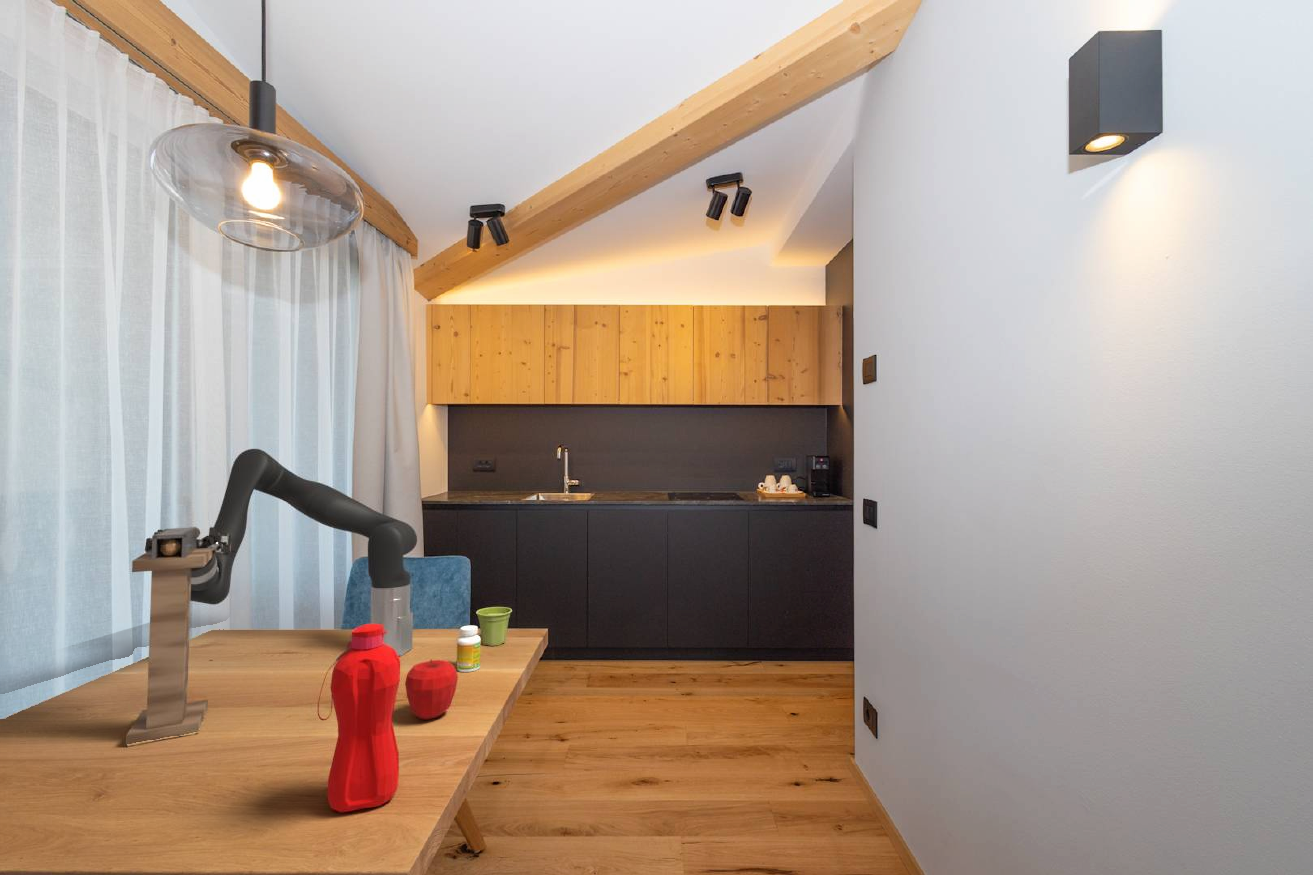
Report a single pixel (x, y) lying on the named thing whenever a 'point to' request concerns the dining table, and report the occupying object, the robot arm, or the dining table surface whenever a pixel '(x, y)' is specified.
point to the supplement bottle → (468, 649)
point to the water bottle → (364, 722)
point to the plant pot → (493, 624)
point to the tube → (174, 545)
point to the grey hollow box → (185, 533)
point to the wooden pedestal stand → (169, 648)
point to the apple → (431, 688)
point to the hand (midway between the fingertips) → (185, 532)
